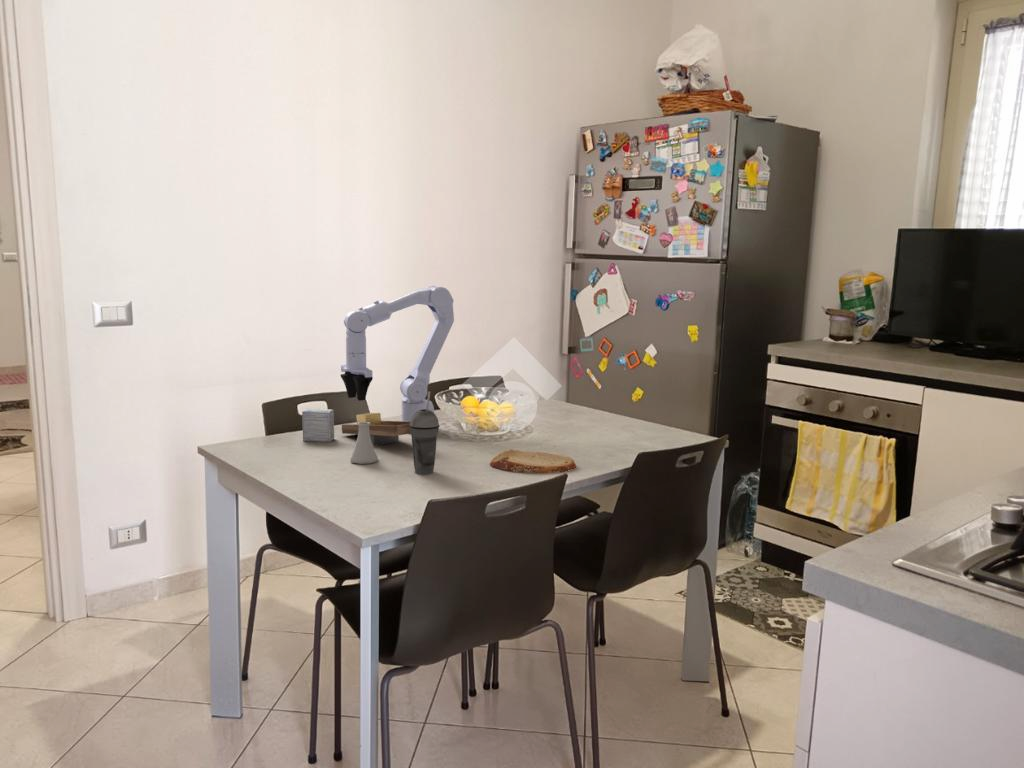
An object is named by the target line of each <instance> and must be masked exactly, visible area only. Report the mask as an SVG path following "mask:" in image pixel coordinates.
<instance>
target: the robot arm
mask: <svg viewBox="0 0 1024 768" xmlns="http://www.w3.org/2000/svg"><path fill="white" fill-rule="evenodd" d="M454 301H455V300H454V298H453V296H452V294H451V292H450V290H448V289H447V288H446V287H443V286H441V287H440V286H435V285H430V286H428V287H425V288H420V289H417V290H413V291H412V292H409V293H407V294H405V295H403V296H400V297H398V298H396V299H393V300H391V301H389V302H387V301H384V300H380V301H379V300H378V299H376V300H374V301H373V303H372V304H370V305H366V306H364V307H363V306H360V307H358V308H357V309H358V311H357V310H352V311H350V312H348V313H347V314H346V315H345V317H344V320H343V325H344V327H345V328H346V329H345V333H346V337H345V354H346V355H345V356H346V357H345V359H346V361H345V362H346V364H341V365H340V372H341V374H340V377H341V380H342V381H343V383H344V386H345V390H346V393H347V397H348V398H349V399H352V398H357V401H361V402H362V401H366V398H367V394H368V389H369V387H370V384H371V383H372V381H373V379H374V378H373V370H372V369H370V368H368V367H367V336H366V329H367V328H368V327H373V326H374V325H377V324H380V323H382V322H384V321H387V320H390V319H391V316H392V314H393V313H396V312H398V311H401V310H404V309H407V308H409V307H412V306H415V305H424V306H427V307H428V308H429V309H430V311H431V313H432V315H433V317H434V320H435V321H434V323H433V326H432V328H431V330H430V332H429V334H428V336H427V339H426V341H425V343H424V344H423V347H422V349H421V352H420V353H419V356H418V358H417V360H416V363H415V365H414V367H413V368H412V369H411V370H410V371H409V372H408V375H407V376H406V377H405V378H404V379H402V381H401V383H400V387H399V389H400V393H401V394H402V395H403V396H402V398H401V421H410V420H411V418H412V416H413V415H414V413H416V412H417V411H419V410H422V409H426V406H427V399H426V398H427V397H428V386H429V384H430V381H431V380H430V377H431V375H430V374H431V373H432V370H433V367H434V366H435V364H436V361H437V359H438V357H439V355H440V353H441V351H442V348H443V347H444V344H445V341H446V340H447V337H448V335H449V333H450V331H451V329H452V326H453V324H454V322H455V313H454ZM428 410H430V411H432V412H433V413H434V414H435V407H434V404H433V402H432V401H431V400H429V408H428Z"/></svg>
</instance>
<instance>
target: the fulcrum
mask: <svg viewBox="0 0 1024 768" xmlns="http://www.w3.org/2000/svg"><path fill="white" fill-rule="evenodd" d="M399 436H400V435H398V436H384V435H370V438H371V441H372V444H373V446H380V445H385V444H390V443H391V444H392V443H397V442H399V439H400V437H399Z"/></svg>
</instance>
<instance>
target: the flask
mask: <svg viewBox="0 0 1024 768" xmlns="http://www.w3.org/2000/svg"><path fill="white" fill-rule="evenodd" d="M358 426H359V433H358V434H357V438H356V442H355V445H354V448H353V451H352V453H351V457H350V462H351V463H352V464H361V465H365V464H375V463H377V462H378V461H379V459H378V455H377V454H376V453H377V452H376V451H375V448H374V445H373V444H372V441H371V438H370V433H369V426H370V422H359V423H358Z"/></svg>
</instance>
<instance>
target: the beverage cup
mask: <svg viewBox="0 0 1024 768" xmlns="http://www.w3.org/2000/svg"><path fill="white" fill-rule="evenodd" d="M430 398H431V391H427V399H426V400H427V406H426V409H422V410H419V411H417V412H416V413H414V415H413V416H412V418H411V420H410V425H409V427H410V432H411V434H410V436H411V445H412V446H411V448H412V455H413V456H412V457H413V466H414V473H415V474H416V475H431V474H434V469H435V465H436V463H435V462H436V453H437V452H436V451H437V441H438V439H437V438H438V434H439V427H440V423H439V419H438V416H437V415H436V413H435V412H434V413H433V412H432V411H430V410H428V408H429V400H430ZM430 401H431V400H430Z"/></svg>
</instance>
